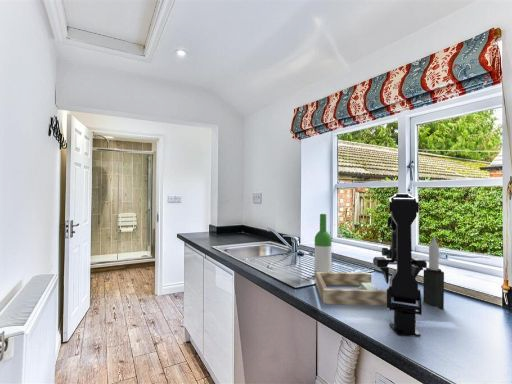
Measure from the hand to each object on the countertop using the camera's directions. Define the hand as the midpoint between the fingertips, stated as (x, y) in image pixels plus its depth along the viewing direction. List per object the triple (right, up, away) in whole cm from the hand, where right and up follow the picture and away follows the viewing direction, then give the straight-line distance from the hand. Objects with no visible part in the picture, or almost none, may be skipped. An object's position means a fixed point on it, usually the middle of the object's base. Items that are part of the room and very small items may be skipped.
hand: (399, 283), depth 116 cm
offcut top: (-12, -3, -3) cm, 13 cm away
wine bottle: (-26, -4, +21) cm, 33 cm away
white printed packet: (0, -4, 0) cm, 4 cm away
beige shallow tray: (-21, -4, -2) cm, 21 cm away
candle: (+6, -4, -12) cm, 15 cm away
